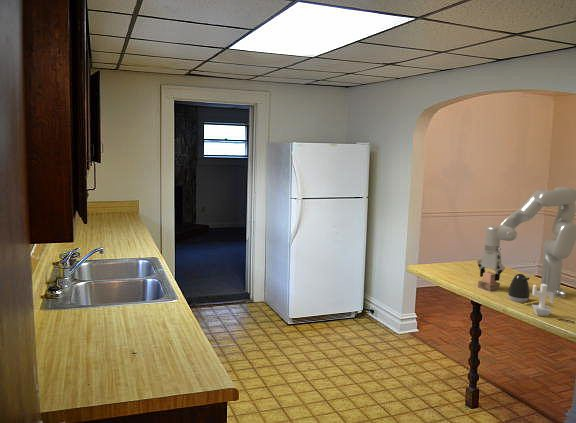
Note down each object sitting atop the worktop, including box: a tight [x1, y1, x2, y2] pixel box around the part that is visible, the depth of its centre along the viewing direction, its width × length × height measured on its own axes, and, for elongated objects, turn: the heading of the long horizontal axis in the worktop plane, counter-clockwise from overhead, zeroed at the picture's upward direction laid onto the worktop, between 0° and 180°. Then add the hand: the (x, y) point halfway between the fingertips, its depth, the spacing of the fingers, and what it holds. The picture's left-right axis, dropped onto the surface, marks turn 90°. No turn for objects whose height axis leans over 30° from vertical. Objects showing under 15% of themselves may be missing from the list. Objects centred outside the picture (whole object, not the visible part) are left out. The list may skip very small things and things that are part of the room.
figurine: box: [531, 283, 555, 317], centre depth 242 cm, size 7×9×15 cm
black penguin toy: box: [507, 273, 531, 304], centre depth 261 cm, size 10×10×15 cm
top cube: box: [482, 271, 497, 284], centre depth 281 cm, size 5×5×5 cm
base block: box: [477, 279, 501, 293], centre depth 281 cm, size 8×8×4 cm
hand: (489, 278), depth 281 cm, fingers open, 9 cm apart
